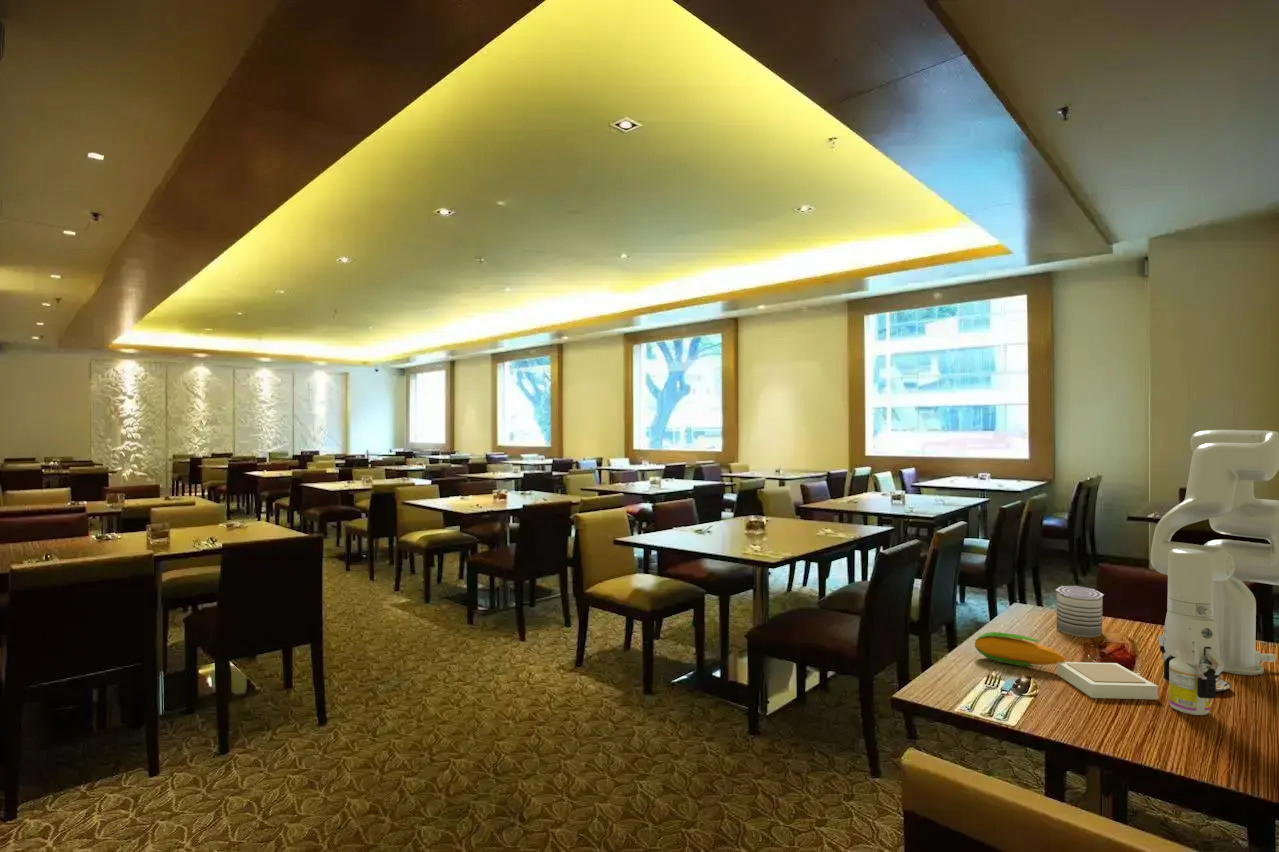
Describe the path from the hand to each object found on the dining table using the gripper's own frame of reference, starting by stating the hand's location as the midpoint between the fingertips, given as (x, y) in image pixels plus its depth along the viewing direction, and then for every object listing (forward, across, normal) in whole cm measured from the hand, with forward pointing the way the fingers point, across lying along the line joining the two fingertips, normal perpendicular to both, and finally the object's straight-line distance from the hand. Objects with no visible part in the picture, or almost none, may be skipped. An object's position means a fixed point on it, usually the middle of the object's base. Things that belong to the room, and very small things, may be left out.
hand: (1188, 688), depth 144 cm
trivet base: (+5, +12, +10) cm, 16 cm away
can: (+5, +54, -8) cm, 55 cm away
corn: (+5, +25, +23) cm, 34 cm away
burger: (+5, +14, -12) cm, 19 cm away
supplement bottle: (+5, 0, 0) cm, 5 cm away
